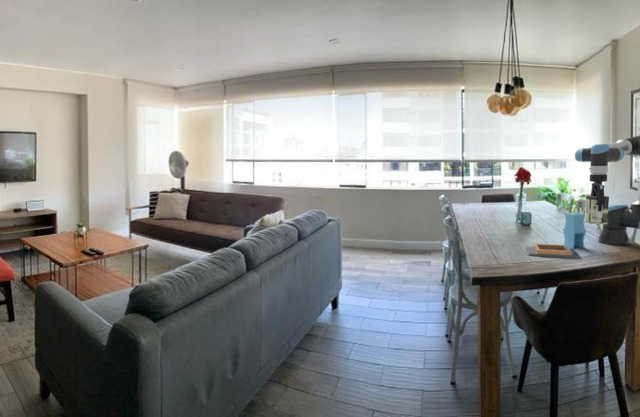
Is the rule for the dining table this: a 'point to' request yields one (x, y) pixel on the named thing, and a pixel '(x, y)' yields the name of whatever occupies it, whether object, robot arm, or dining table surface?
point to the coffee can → (591, 211)
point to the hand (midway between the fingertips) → (596, 215)
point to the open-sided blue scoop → (574, 230)
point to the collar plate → (552, 251)
